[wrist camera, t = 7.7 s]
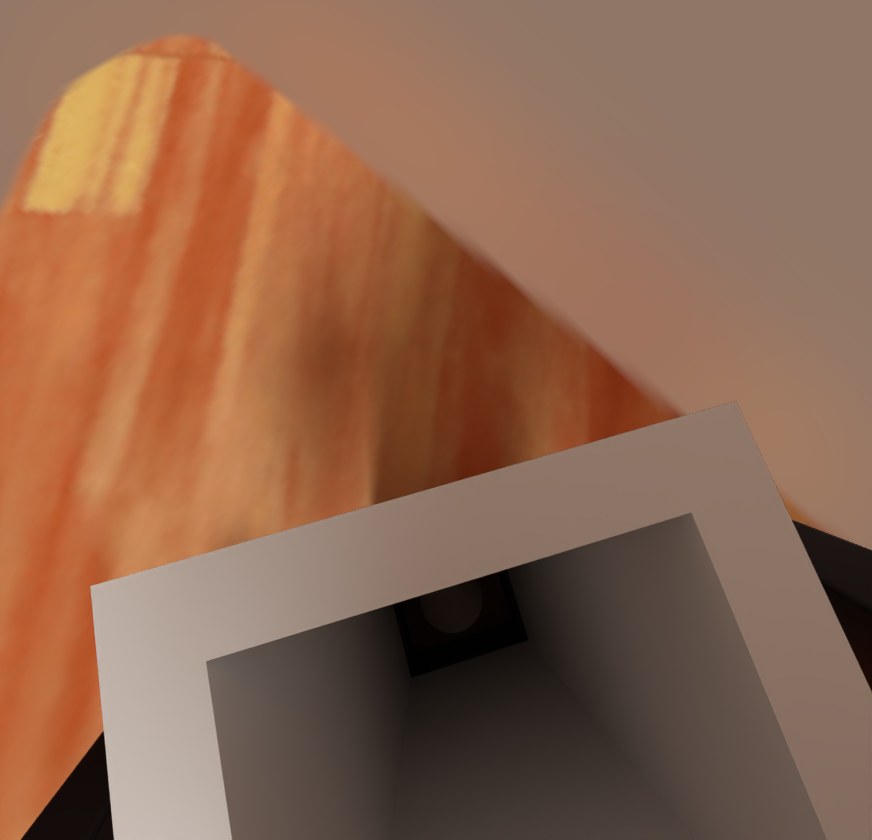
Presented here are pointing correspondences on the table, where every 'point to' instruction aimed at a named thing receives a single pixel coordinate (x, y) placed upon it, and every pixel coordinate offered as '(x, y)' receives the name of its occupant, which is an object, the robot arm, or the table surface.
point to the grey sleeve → (500, 665)
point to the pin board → (482, 623)
